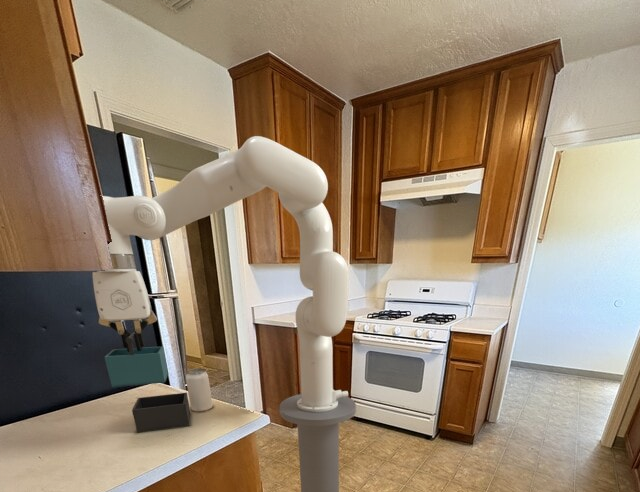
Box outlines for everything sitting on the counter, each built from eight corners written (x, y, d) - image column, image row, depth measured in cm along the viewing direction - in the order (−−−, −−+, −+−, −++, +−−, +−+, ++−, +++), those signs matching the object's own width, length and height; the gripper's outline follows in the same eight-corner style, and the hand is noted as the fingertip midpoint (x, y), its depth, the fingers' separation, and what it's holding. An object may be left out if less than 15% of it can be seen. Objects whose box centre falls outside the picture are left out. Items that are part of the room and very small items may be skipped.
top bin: (168, 373, 90) (160, 330, 86) (165, 382, 83) (156, 335, 79) (119, 377, 87) (108, 333, 83) (111, 387, 80) (99, 339, 76)
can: (198, 413, 106) (191, 375, 102) (187, 408, 110) (180, 371, 106) (216, 407, 111) (211, 370, 106) (206, 403, 115) (200, 367, 110)
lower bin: (190, 413, 107) (186, 392, 104) (189, 426, 98) (185, 403, 96) (143, 418, 103) (138, 397, 101) (137, 433, 95) (131, 410, 92)
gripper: (67, 265, 70) (93, 356, 77) (153, 263, 74) (169, 350, 81) (79, 265, 76) (102, 349, 83) (157, 264, 80) (172, 344, 88)
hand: (135, 349), depth 82 cm, fingers closed on top bin, 1 cm apart
